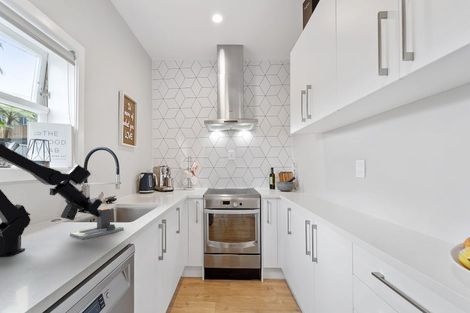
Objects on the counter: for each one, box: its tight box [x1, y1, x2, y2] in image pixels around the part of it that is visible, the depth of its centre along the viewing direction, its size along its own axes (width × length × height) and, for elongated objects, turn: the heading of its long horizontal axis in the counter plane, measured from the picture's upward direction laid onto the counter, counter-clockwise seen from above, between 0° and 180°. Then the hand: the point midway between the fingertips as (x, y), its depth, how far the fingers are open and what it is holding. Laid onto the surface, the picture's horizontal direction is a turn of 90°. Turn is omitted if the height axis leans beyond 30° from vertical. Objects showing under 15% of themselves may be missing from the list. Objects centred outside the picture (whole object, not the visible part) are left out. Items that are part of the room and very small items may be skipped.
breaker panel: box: [69, 223, 125, 241], centre depth 110 cm, size 18×10×3 cm, turn 146°
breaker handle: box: [96, 207, 111, 230], centre depth 112 cm, size 4×4×9 cm
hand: (98, 216), depth 110 cm, fingers closed
